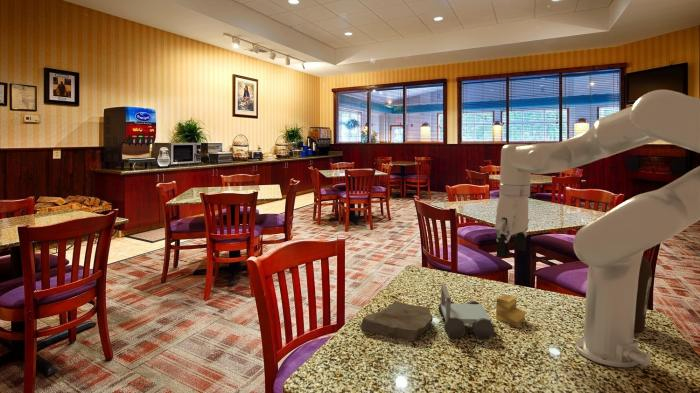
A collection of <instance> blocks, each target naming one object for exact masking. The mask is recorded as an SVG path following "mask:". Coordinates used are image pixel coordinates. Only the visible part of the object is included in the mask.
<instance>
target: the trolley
mask: <svg viewBox="0 0 700 393" xmlns="http://www.w3.org/2000/svg"><path fill="white" fill-rule="evenodd" d="M451 298H452V297H451V295H450V293H449V290H448V288H447V286H446V284H445V283H441V285H440V304H438V313H439V315H440V317H442V319H444V320H445V322H444V324H443V328H444V331H445V334H446V336H448V337H449V338H451V339H459V338H461V337H463V335H464V334H465V332H466V325H465V324H470V325H471V324H472V331H473V333H474V336H476V337H477V338H478V339H481V340H487V339H490V338H491V337H492V336H494V333H495V327H494V325H493V323H492V319H491V317H490V316H489V314H488V312H487V311H486V309H485V308H484V306H483V304H482V303H480V302H478V301H476V300H470V301H467V303H454V302H453V301H452V299H451Z"/></svg>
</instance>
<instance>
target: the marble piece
mask: <svg viewBox="0 0 700 393" xmlns="http://www.w3.org/2000/svg"><path fill="white" fill-rule="evenodd" d="M433 319H434V318H433V315H432V313H431V311H430V308H428V307H427V306H421V305H414V304H410V303H405V302H402V301H401V302H400V301H393V302H392V303H390V304H389V305H387V307H385V308H383V309H382V310H380V311H377V312H373V313H370V314H367V315H365V316H363V317H362V320H361V323H360V329H361V331H363V332H367V333H371V334H376V335H379V336H380V335H381V336H386V337H389V338H390V337H391V338H395V339H399V340H404V341H408V342H414V341H415V339H417V338H418V337H421V336H422V335H423V333H424V332H426V331H428V330H429V327H430V325H431V323H432V322H433Z"/></svg>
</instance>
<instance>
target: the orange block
mask: <svg viewBox="0 0 700 393" xmlns="http://www.w3.org/2000/svg"><path fill="white" fill-rule="evenodd" d="M495 311H496V312H495V319H496V320H498V321H502V322H504V323H508V324H512V325H514V326H519V325H520V324H521V323H523V322H524V321H526V320H525V319H526V310H525V309H522V308H519V307H518V308H517V297H516V296H512V295H508V294H506V293H505V294H502V295H500V296H499V297H496V310H495Z"/></svg>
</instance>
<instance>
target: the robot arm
mask: <svg viewBox="0 0 700 393" xmlns="http://www.w3.org/2000/svg"><path fill="white" fill-rule="evenodd" d="M658 141H662V142H664V143H668V144H671V145H674V146H677V147H681V148H683V149H687V150H690V151H692V152H695V153H698V154H700V98H697V97H694V96H691V95H687V94H685V93H682V92H678V91H674V90H670V89H656V90H653V91H648V92H647V93H645V94H643V95H642V96H640V97H639V98H638V99H637V100H635V102H634V103H633V105H632V106H630V107H627V108H624V109H620V110H619V111H616V112H613V113H611V114H608V115H607V116H603V117H600V118H598V119H597V120H595V121H594V122H593V124H592V125H591V127H590V128H589V129H587V130H586V131H584V132H583V133H580V134H578V135H575V136H573V137H569V138H567V139H565V140H562V141H559V142H546V143H545V142H543V143H533V144H532V143H531V144H528V143H527V144H525V143H508V144H504V145H503V146H502V147H501V150H500V151H501V152H500V173H499V190H498V191H499V192H498V193H499V197H498V200H497V201H498V202H497V206H496V214H495V215H496V216H495V224H494V231H495V238H496V242H497V243H496V256H497V257H499V258H505V259H509V257H510V250H511V249H510V246H511V243H510V242H509V241H510V239H511V236H513V249H514V250H516V251H520V252H521V251H522V252H526V250H527V236H528V232H527V231H528V229H529V227H528V226H529V222H530V219H529V198H530V196H531V179H532V174H535V175H544V174H552V173H553V174H554V173H561V172H565V171H569V170H571V169H574V168H578V167H581V166H584V165H587V164H591V163H593V162H595V161H599V160H602V159H604V158H605V159H606V158H608V157H611V156H614V155H616V154H620V153H623V152H625V151H628V150H629V151H630V150H632V149H634V148H637V147H642V146H644V145H647V144H652V143H654V142H658ZM699 221H700V165H699V166H697V167H695V168H693V169H692V170H690V171H688V172H686V173H685V174H683V175H682V176H680V177H678V178H677V179H675V180H673V181H672V182H669V183H668V184H666V185H664V186H662V187H659V188H658V189H655V190H651V191H647V192H644V193H640V194H637V195H635V196H632V197H631V198H628V199H627V200H625V201H623V202H621V203H620V204H618V205H617V206H615V207H613V208H611V209H610V210H608V211H607V212H604V213H603V214H601V215H599V216H598V217H596V218H594V219H593V220H591V221H590V222H588V223H586V224H585V225H583V226H582V227H581V228H580V229H579V230H578V231H577V232H576V234H575V236H574V239H573V242H572V243H573V244H572V245H573V251H574V253H575V254H574V255H576V257H577V258H578V260H580V261H581V262H582V263H583V264H585V265H587V266H588V269H587V278H586V280H587V281H586V292H585V293H586V294H585V305H584V322H583V323H584V324H583V335H582V336H581V337H579V338H577V339H576V340H575V345H574V346H575V349H576V351H577V353H579V354H580V355H582V356H583V357H585V358H586V359H588V360H590V361H592V362H596V363H598V364H601V365H604V366H608V367H614V368H631V367H635V366H638V365H641V366H643V367H645V368H646V367H648V366H649V365H650V362H651V361H650V360H651V354H650V353H647V352H645V351H643V350H641V349H640V348H639V341H638V340H635V339H634V335H635V333H634V323H635V310H636V298H637V289H638V278H639V270H640V265H641V260H642V255H643V256H644V252H645V251H647V250H649V249H651V248H653V247H655V246H657V245H659V244H662V243H663V242H665V241H667V240H669V239H671V238H673V237H675V236H677V235H679V234H680V233H682V232H683V231H685V230H686V229H687V228H689V227H690V226H692V225H694V224H696V223H697V222H699Z"/></svg>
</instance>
